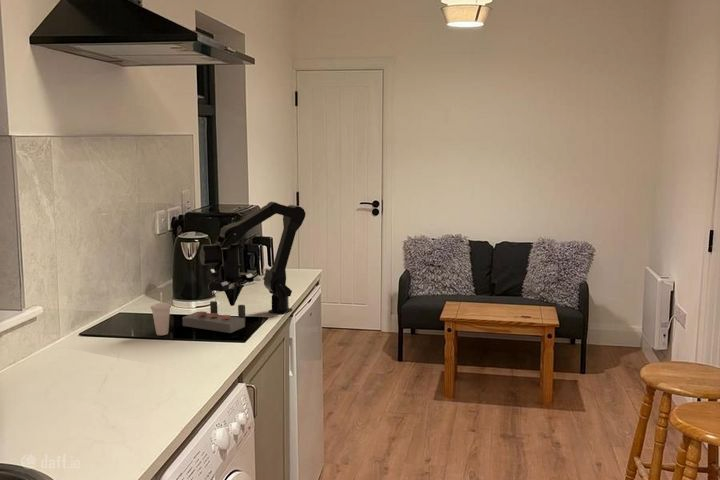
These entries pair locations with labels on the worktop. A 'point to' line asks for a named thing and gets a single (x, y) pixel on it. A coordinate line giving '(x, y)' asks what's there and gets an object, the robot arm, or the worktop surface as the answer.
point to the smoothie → (161, 316)
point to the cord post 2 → (241, 311)
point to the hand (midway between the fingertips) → (232, 305)
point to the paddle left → (201, 313)
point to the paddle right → (225, 316)
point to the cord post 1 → (213, 307)
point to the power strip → (213, 322)
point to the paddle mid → (213, 315)
